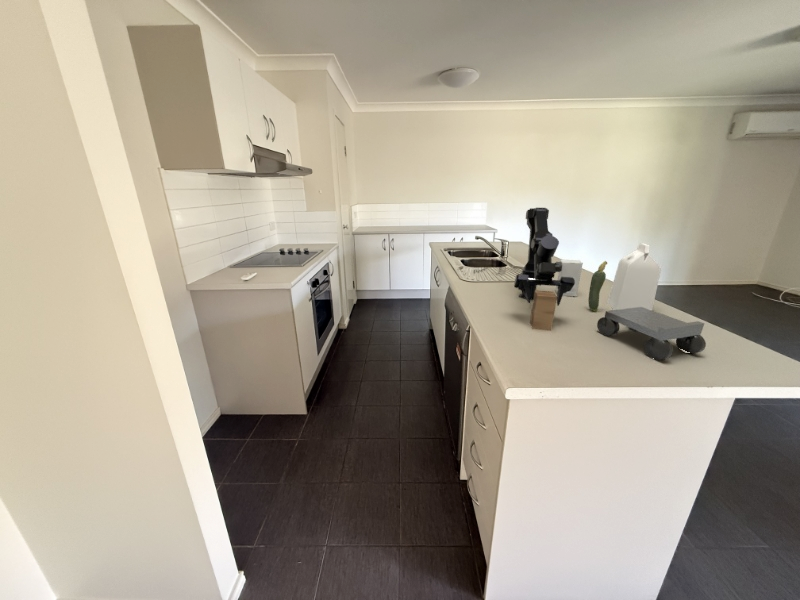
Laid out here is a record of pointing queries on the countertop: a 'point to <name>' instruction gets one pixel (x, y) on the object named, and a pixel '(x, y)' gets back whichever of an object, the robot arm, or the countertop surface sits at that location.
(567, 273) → the skincare box
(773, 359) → the countertop surface
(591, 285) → the vegetable
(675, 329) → the trolley
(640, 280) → the milk
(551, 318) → the block
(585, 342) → the countertop surface
